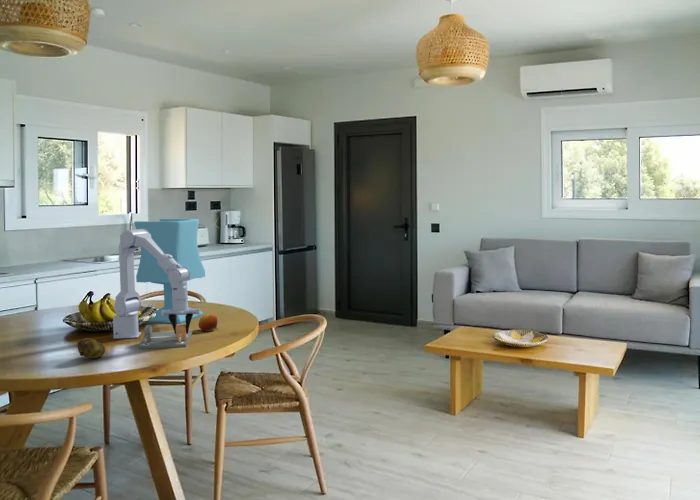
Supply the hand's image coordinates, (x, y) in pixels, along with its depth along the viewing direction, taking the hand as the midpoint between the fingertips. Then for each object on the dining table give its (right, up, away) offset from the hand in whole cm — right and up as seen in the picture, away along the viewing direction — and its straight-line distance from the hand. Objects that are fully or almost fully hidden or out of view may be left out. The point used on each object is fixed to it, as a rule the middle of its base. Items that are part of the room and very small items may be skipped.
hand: (181, 333), depth 256 cm
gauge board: (-7, -3, +3) cm, 8 cm away
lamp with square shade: (-15, +1, +46) cm, 48 cm away
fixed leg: (-12, -3, -3) cm, 13 cm away
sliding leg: (0, -2, -2) cm, 3 cm away
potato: (-26, -6, -22) cm, 34 cm away
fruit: (+6, -2, +20) cm, 21 cm away
